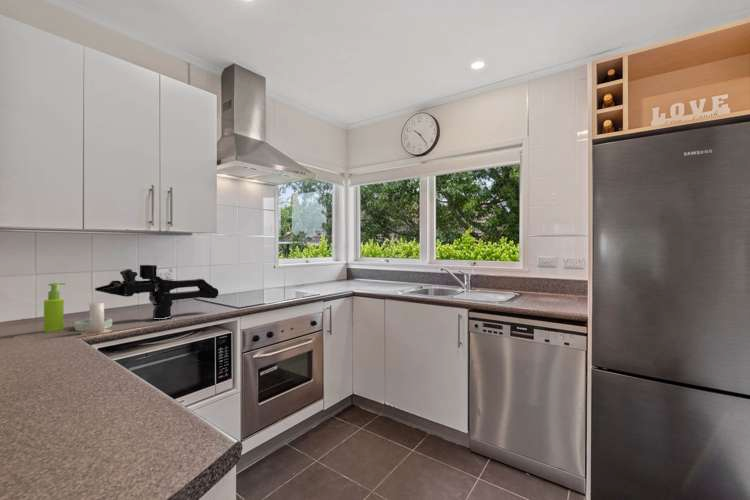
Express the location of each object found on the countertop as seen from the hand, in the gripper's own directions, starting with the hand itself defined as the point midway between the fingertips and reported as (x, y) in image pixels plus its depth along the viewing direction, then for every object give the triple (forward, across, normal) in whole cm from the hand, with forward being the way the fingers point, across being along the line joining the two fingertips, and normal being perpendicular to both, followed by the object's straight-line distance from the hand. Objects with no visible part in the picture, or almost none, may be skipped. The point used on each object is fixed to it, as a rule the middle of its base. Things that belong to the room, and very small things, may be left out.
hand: (98, 289), depth 148 cm
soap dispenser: (+13, -7, +17) cm, 22 cm away
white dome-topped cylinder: (+4, +11, +16) cm, 20 cm away
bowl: (+2, 0, +16) cm, 17 cm away
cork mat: (+4, +11, +16) cm, 20 cm away
